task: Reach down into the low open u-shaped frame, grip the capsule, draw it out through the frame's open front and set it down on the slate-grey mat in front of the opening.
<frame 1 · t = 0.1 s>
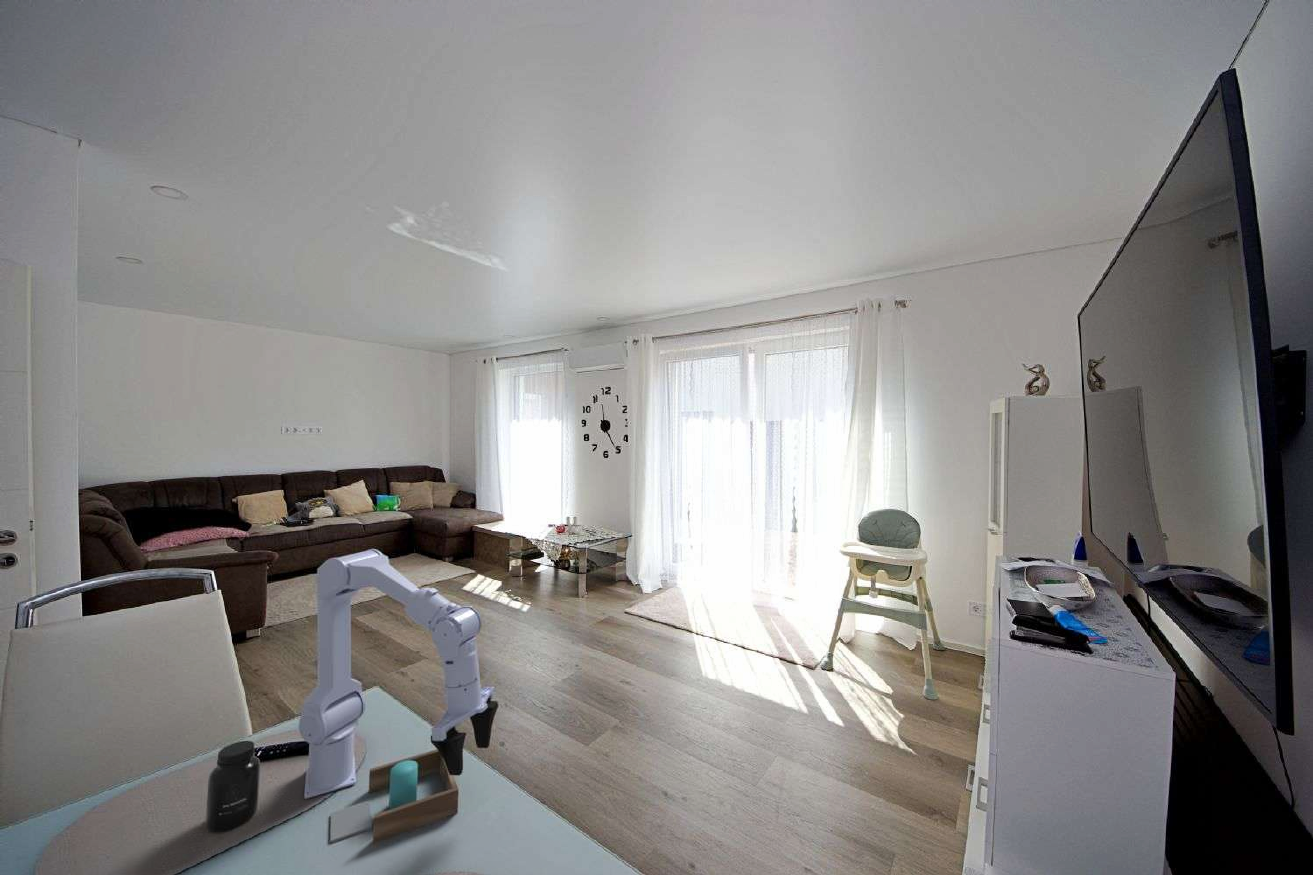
hand: (470, 759, 85), 10 cm above the table, tool pointing down, fingers open, 7 cm apart
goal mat: (350, 821, 84), on the table
open u-shaped frame: (412, 801, 89), on the table
capsule: (402, 804, 88), on the table
supplement bottle: (232, 820, 84), on the table
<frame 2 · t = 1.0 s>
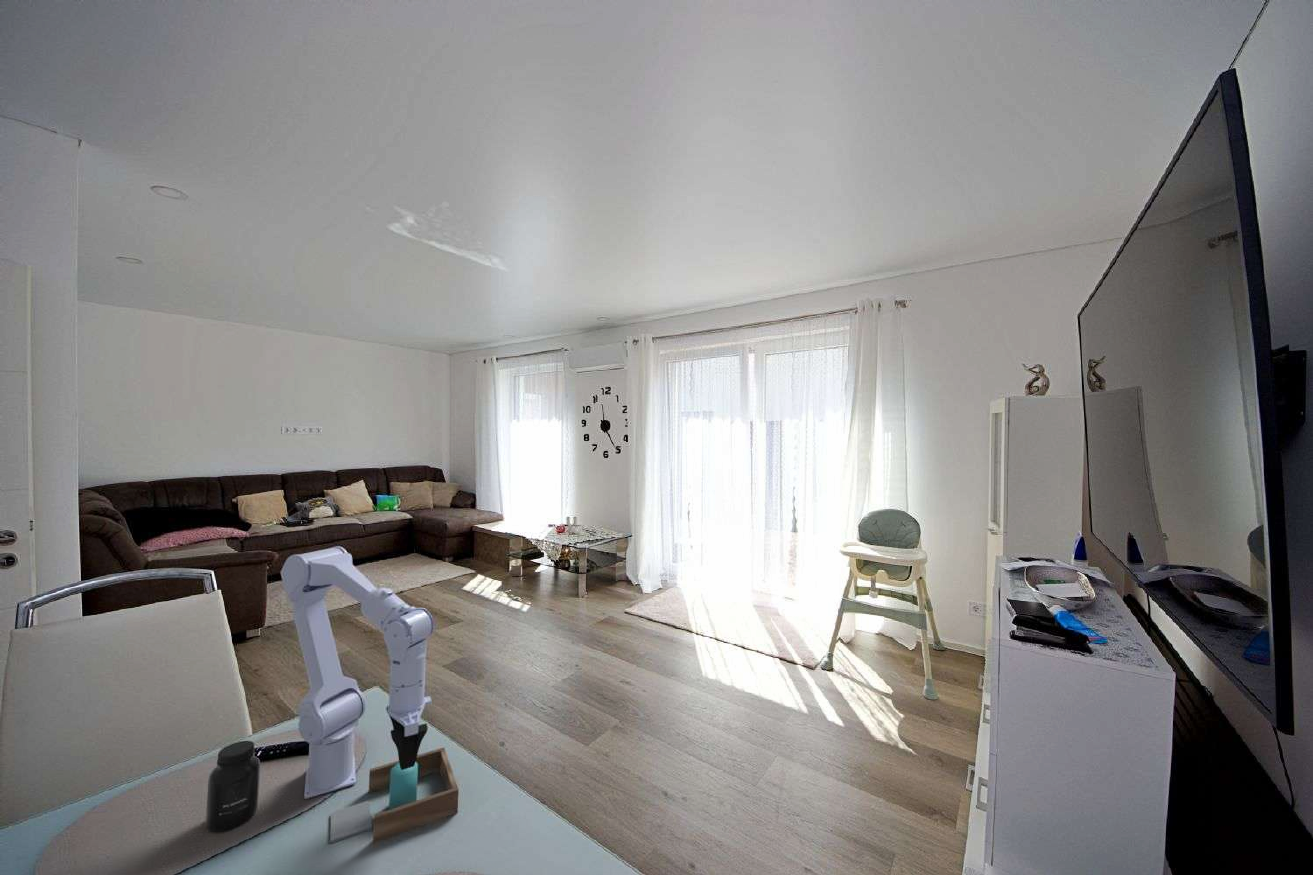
hand: (404, 755, 88), 9 cm above the table, tool pointing down, fingers open, 7 cm apart
nothing on the table moved.
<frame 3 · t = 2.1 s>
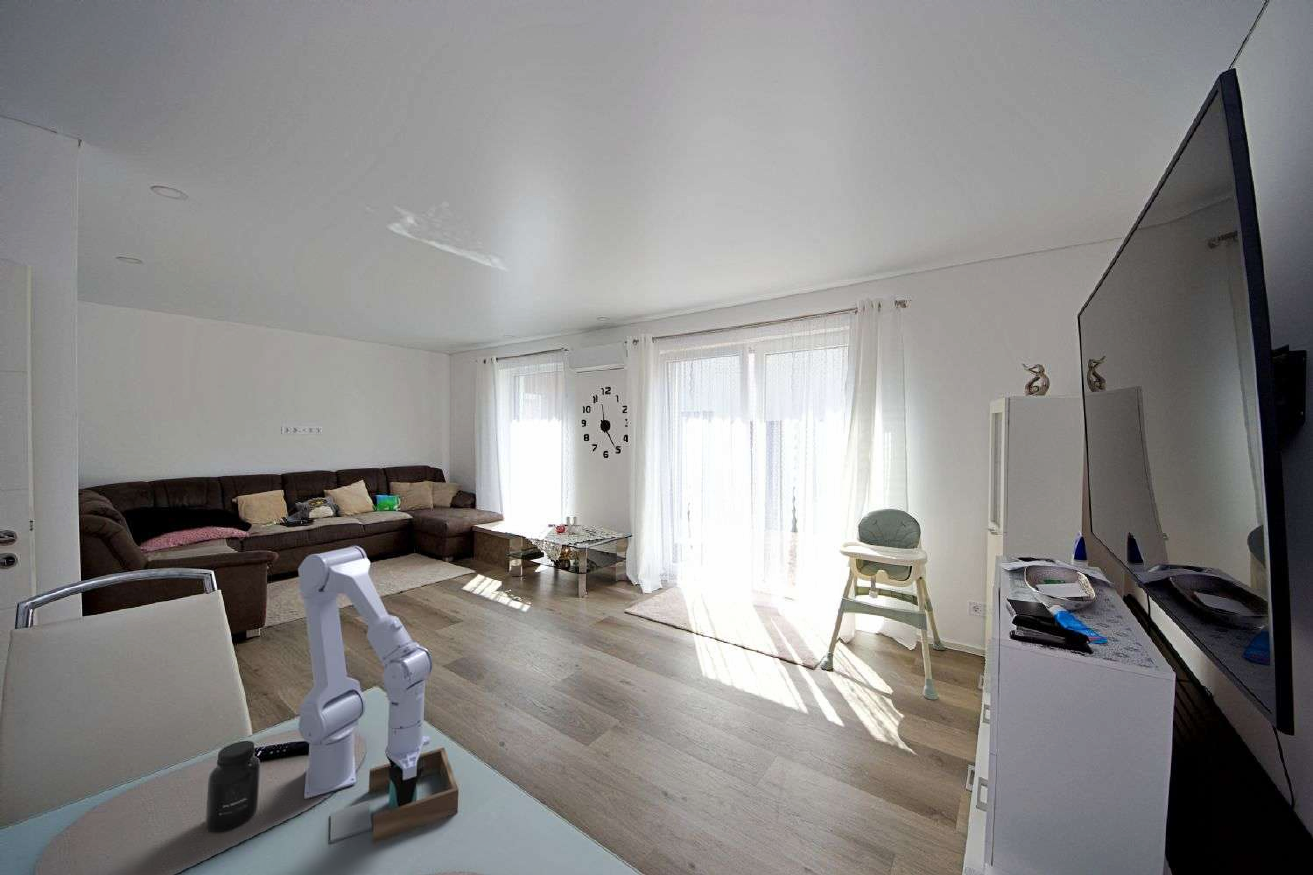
hand: (403, 795, 88), 2 cm above the table, tool pointing down, fingers closed on capsule, 4 cm apart
capsule: (402, 804, 88), on the table, touching gripper
everything else where it was.
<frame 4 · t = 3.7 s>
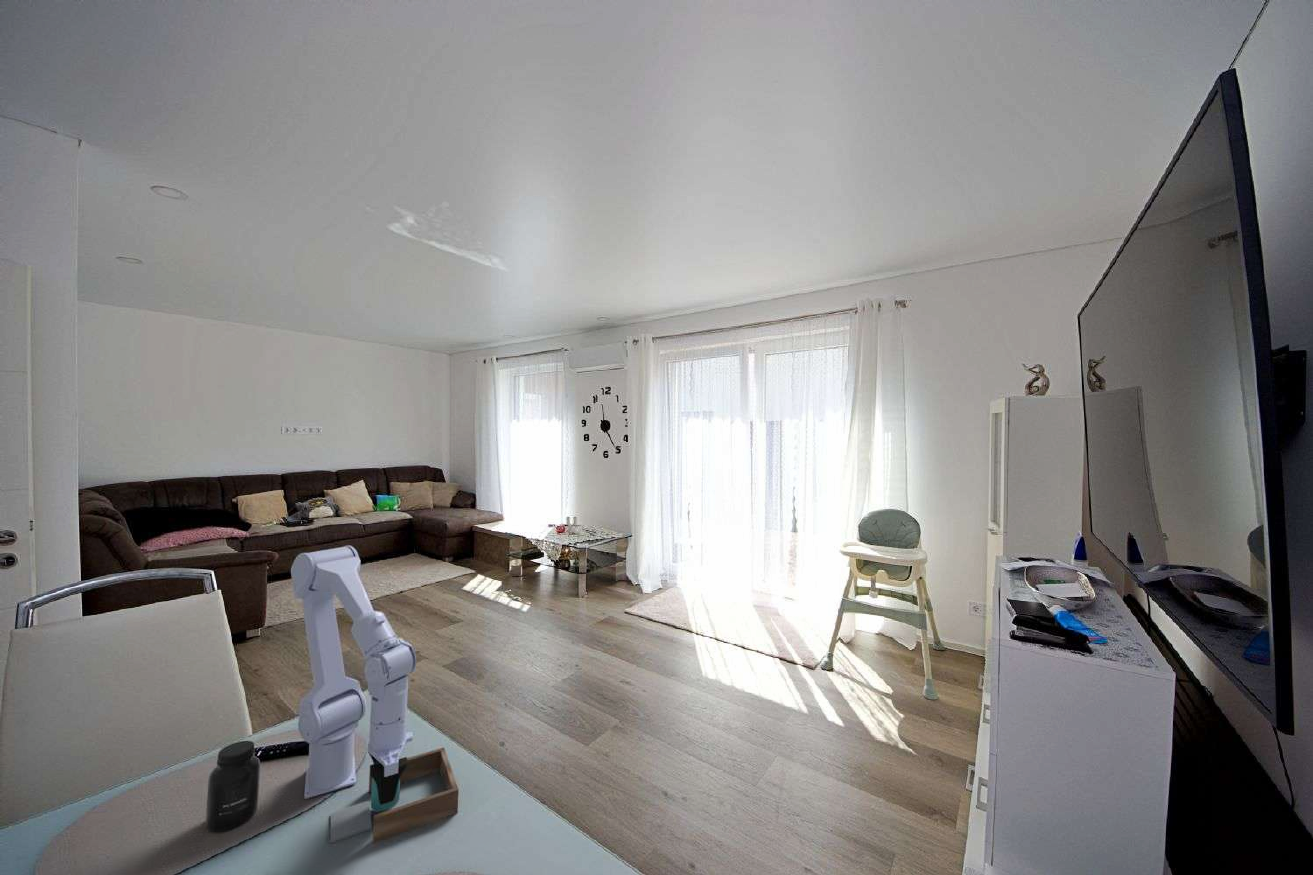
hand: (385, 792, 87), 3 cm above the table, tool pointing down, fingers closed on capsule, 4 cm apart
capsule: (385, 801, 87), point 1 cm above the table, touching gripper
everything else where it was.
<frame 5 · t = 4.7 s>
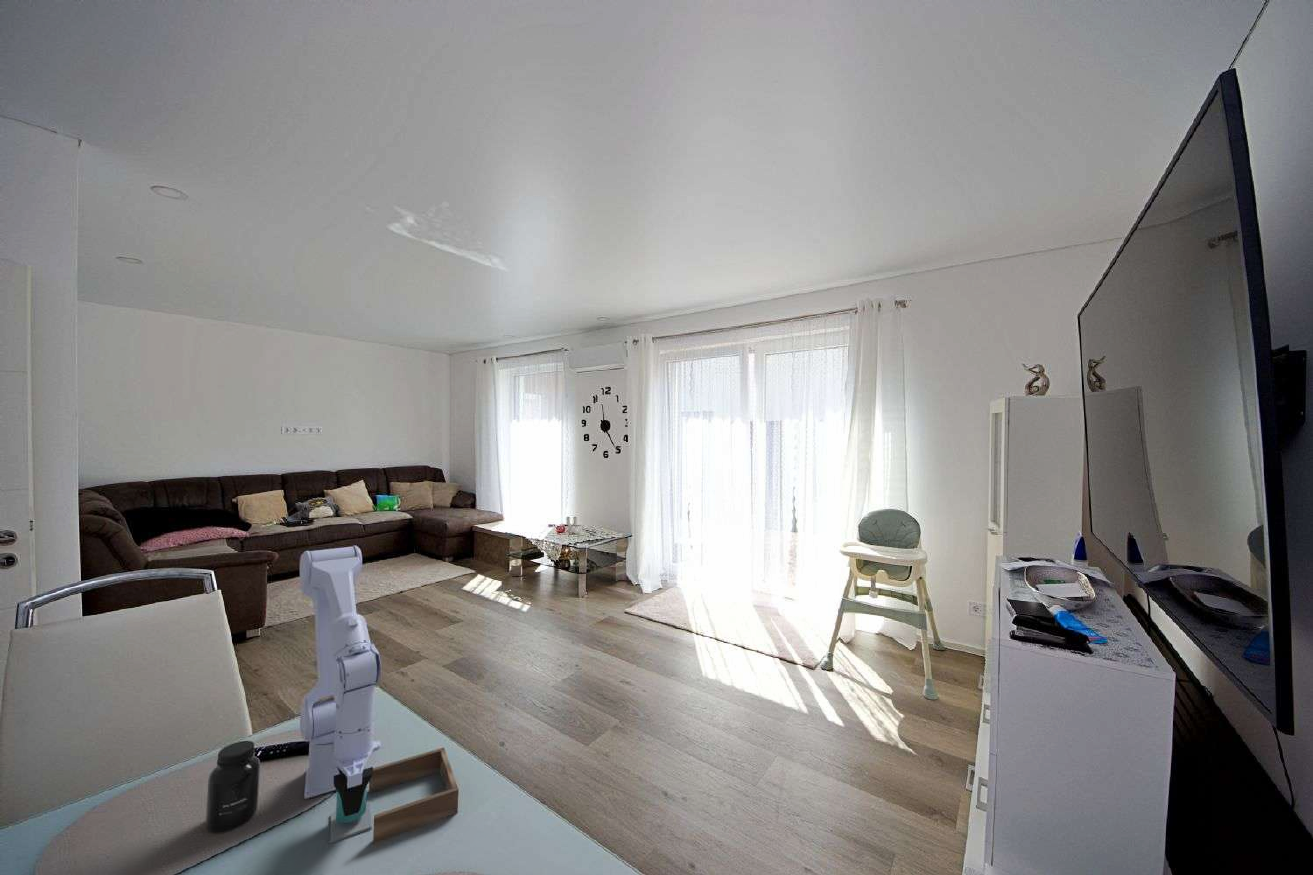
hand: (351, 803, 84), 3 cm above the table, tool pointing down, fingers closed on capsule, 4 cm apart
capsule: (351, 813, 84), point 1 cm above the table, touching gripper
everything else where it was.
when the fingers open (3 cm above the table, at t = 5.4 s): capsule drops 1 cm, resting on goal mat.
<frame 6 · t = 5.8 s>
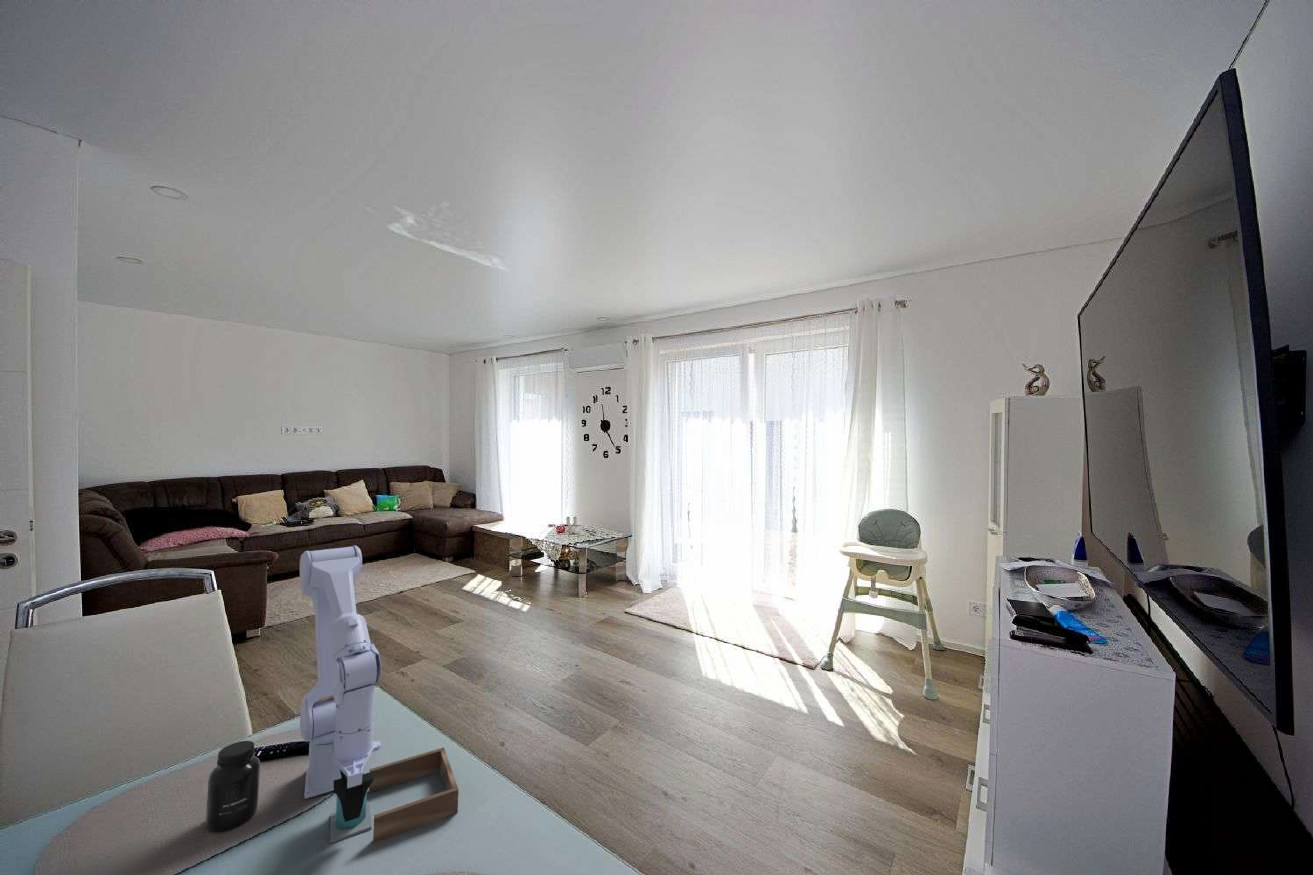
hand: (351, 803, 84), 3 cm above the table, tool pointing down, fingers open, 7 cm apart
capsule: (350, 819, 84), resting on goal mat
everything else where it was.
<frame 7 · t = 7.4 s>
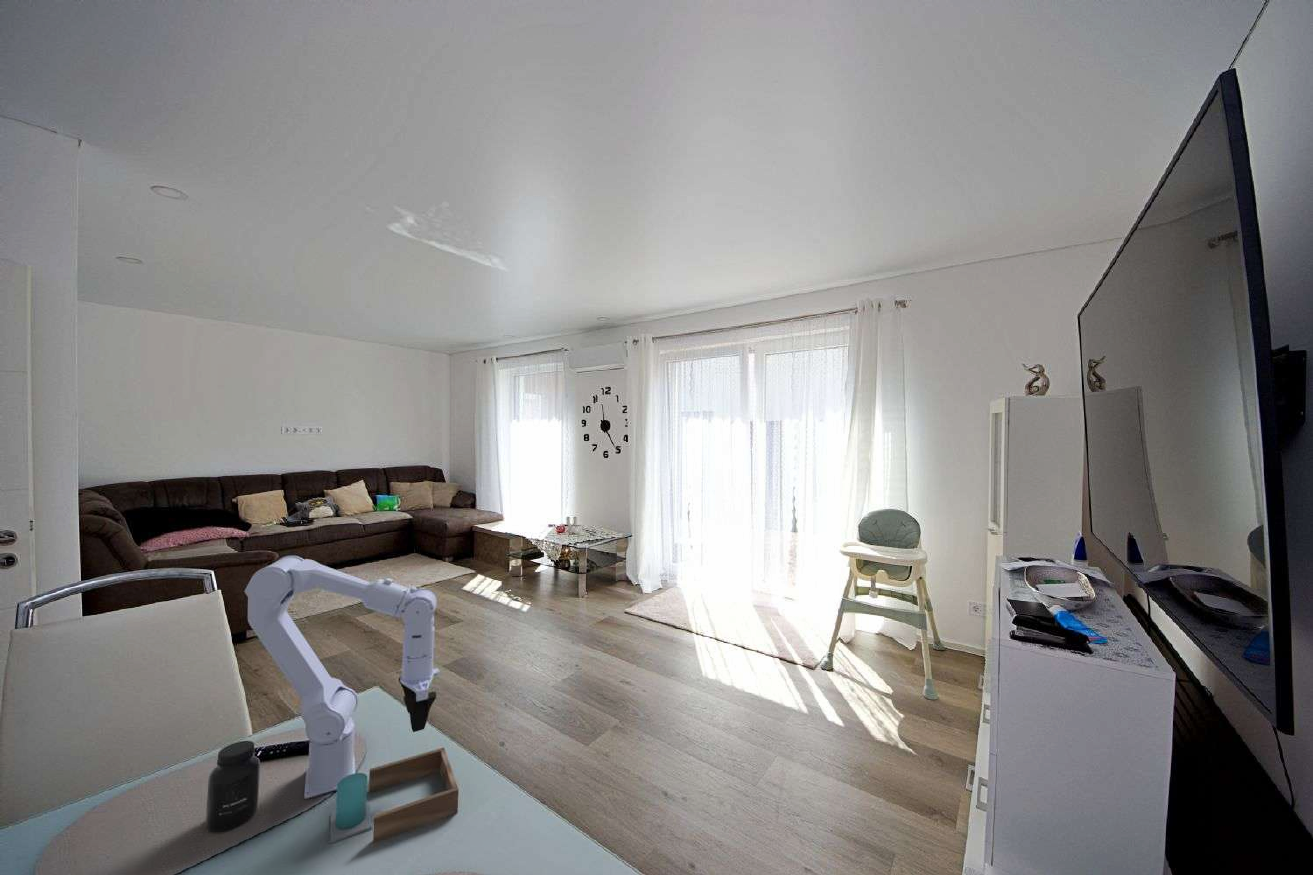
hand: (415, 720, 98), 9 cm above the table, tool pointing down, fingers open, 7 cm apart
nothing on the table moved.
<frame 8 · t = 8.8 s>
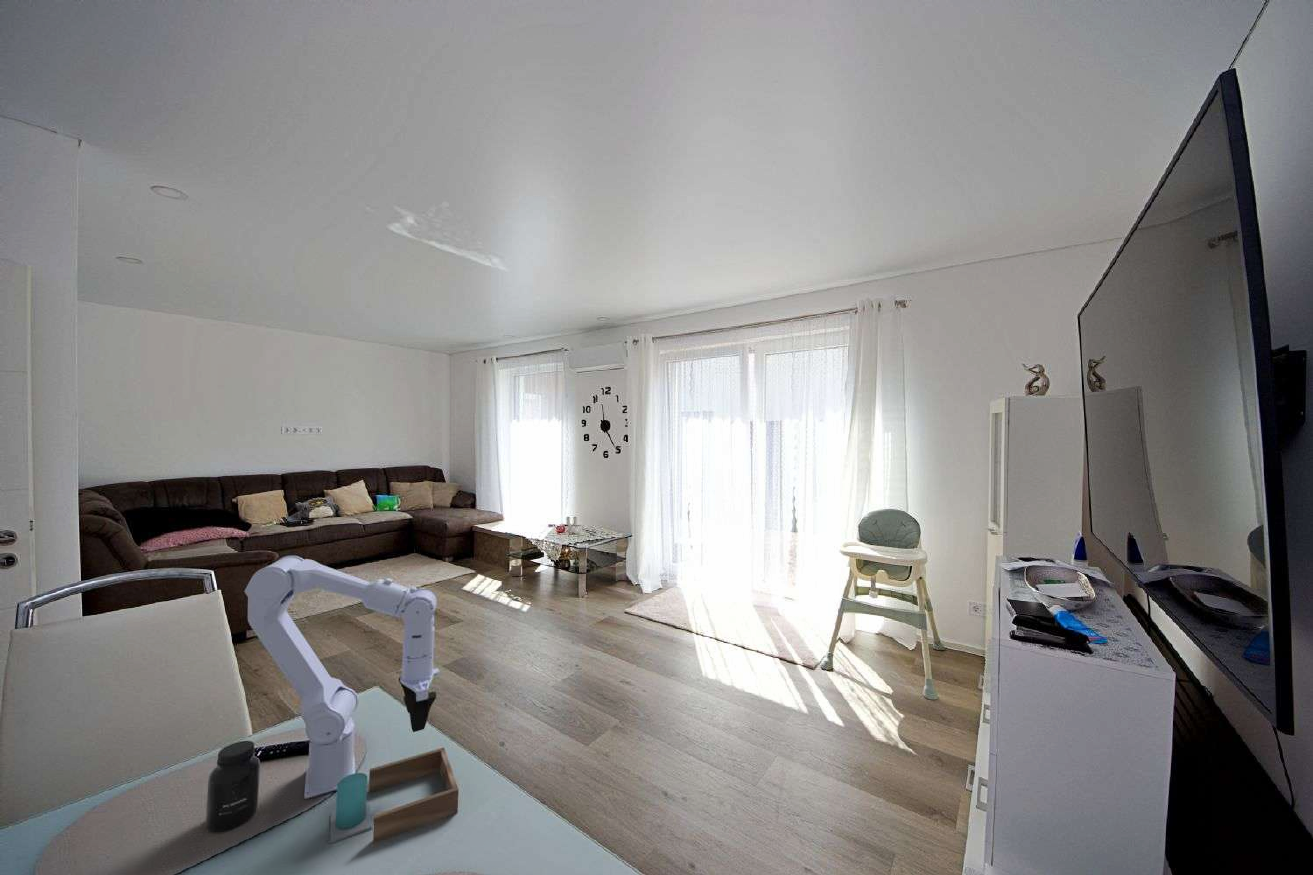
hand: (415, 720, 98), 9 cm above the table, tool pointing down, fingers open, 7 cm apart
nothing on the table moved.
at the end: capsule inside the target area (0.4 cm from its centre), resting on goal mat; capsule tilted 0°; the gripper is holding nothing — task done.
